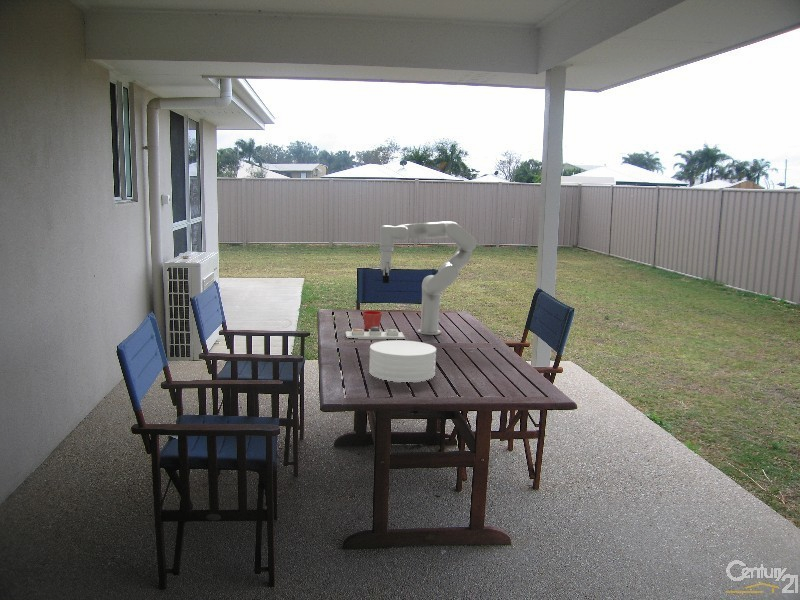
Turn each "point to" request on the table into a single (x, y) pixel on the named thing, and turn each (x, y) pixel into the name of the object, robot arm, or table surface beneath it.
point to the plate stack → (402, 361)
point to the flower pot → (371, 319)
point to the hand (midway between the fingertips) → (385, 282)
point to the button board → (374, 334)
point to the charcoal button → (374, 328)
